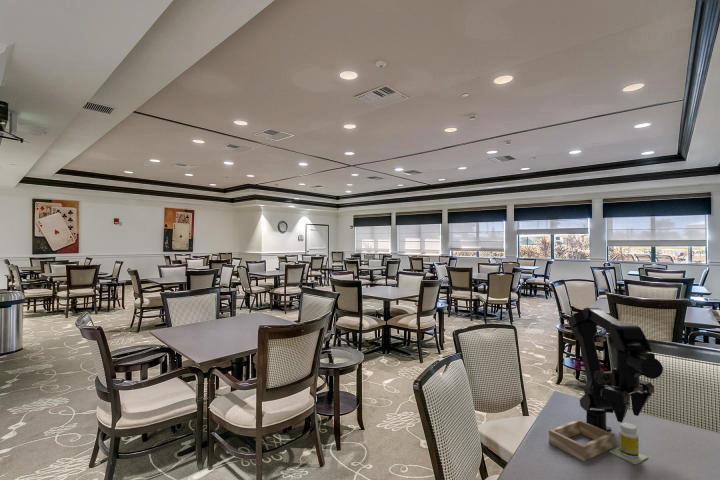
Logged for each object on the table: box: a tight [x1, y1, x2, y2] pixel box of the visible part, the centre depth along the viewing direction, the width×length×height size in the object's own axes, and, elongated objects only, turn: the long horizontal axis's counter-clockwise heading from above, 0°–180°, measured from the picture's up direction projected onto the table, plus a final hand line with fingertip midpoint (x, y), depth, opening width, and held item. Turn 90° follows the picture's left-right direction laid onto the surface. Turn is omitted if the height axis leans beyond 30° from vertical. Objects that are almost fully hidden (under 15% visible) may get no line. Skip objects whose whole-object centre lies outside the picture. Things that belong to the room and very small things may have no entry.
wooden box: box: [548, 419, 615, 462], centre depth 113 cm, size 16×11×4 cm
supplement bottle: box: [618, 422, 640, 458], centre depth 108 cm, size 5×5×8 cm
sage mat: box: [609, 446, 649, 465], centre depth 107 cm, size 7×7×1 cm
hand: (628, 418), depth 108 cm, fingers open, 9 cm apart
